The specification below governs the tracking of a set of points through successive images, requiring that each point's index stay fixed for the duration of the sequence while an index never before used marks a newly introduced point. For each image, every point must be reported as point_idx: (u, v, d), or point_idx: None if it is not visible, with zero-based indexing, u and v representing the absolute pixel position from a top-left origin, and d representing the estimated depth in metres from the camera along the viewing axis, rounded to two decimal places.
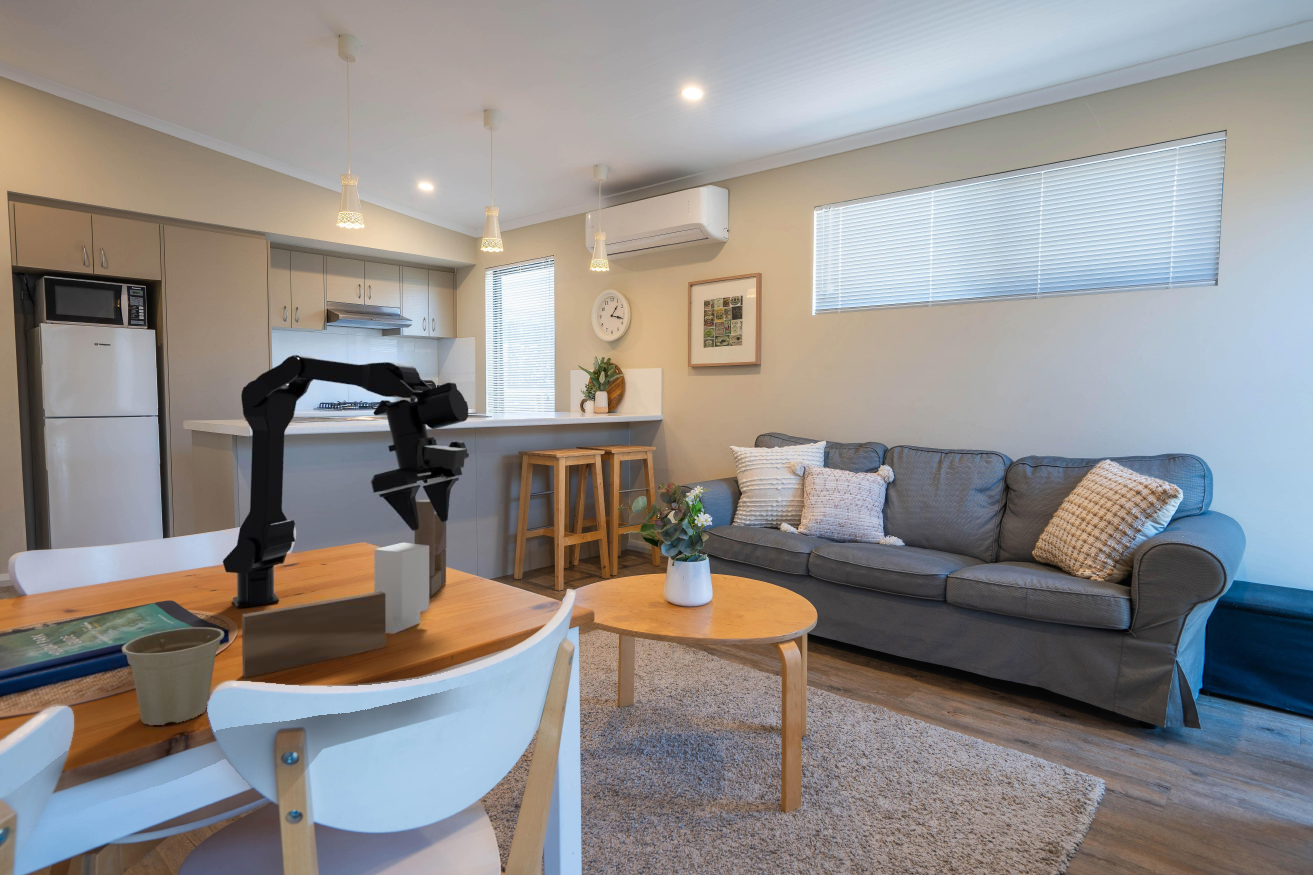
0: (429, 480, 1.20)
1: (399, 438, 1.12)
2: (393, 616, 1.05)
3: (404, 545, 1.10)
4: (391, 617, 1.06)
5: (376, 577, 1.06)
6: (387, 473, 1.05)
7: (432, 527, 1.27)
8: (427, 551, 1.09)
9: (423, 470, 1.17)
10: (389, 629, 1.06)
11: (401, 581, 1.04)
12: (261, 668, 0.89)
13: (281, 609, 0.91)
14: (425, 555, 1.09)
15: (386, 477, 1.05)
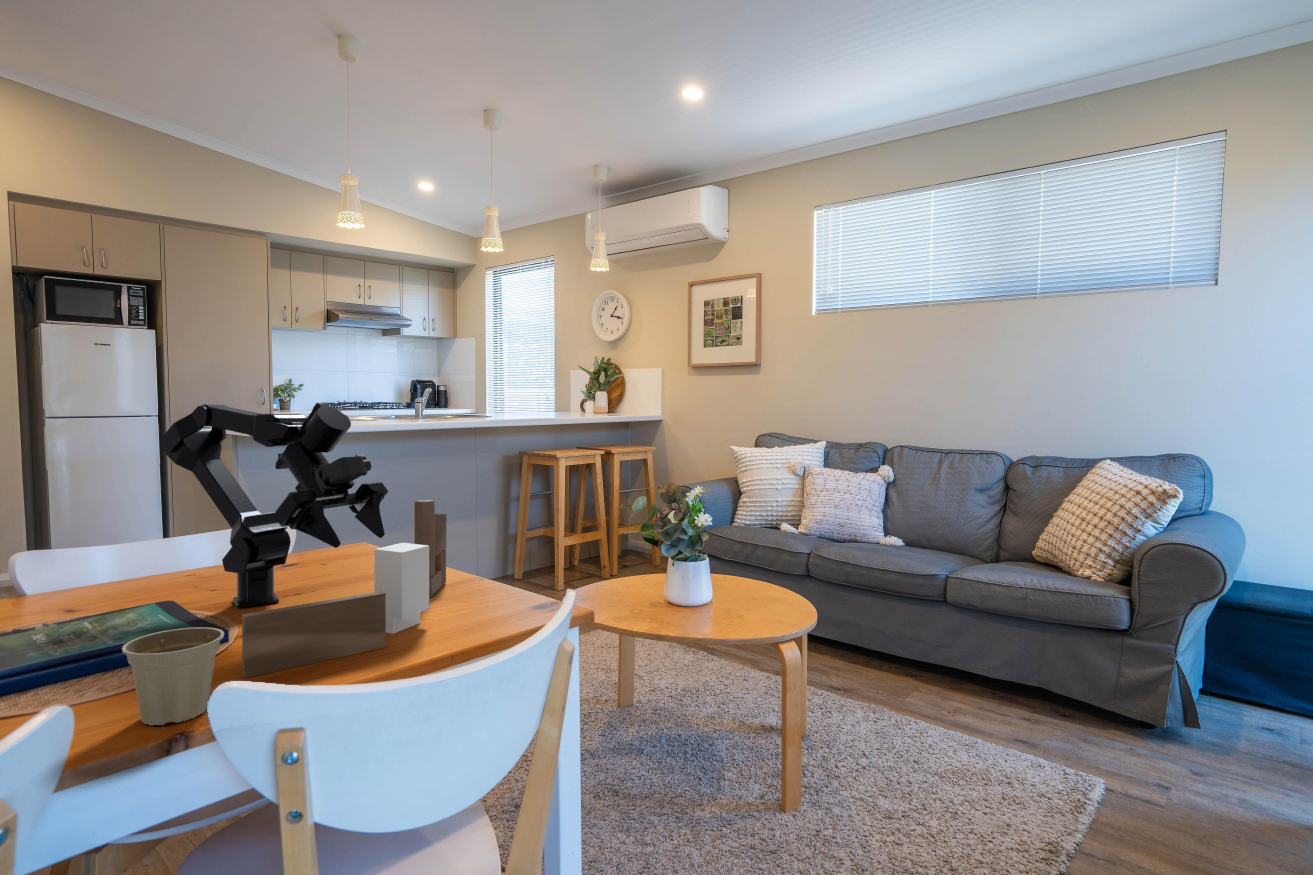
0: (358, 508, 1.19)
1: (298, 474, 1.13)
2: (393, 616, 1.05)
3: (404, 545, 1.10)
4: (391, 617, 1.06)
5: (376, 577, 1.06)
6: (283, 501, 1.05)
7: (432, 527, 1.27)
8: (427, 551, 1.10)
9: (341, 497, 1.16)
10: (389, 629, 1.06)
11: (401, 581, 1.04)
12: (261, 668, 0.89)
13: (281, 609, 0.91)
14: (425, 555, 1.09)
15: (282, 505, 1.05)
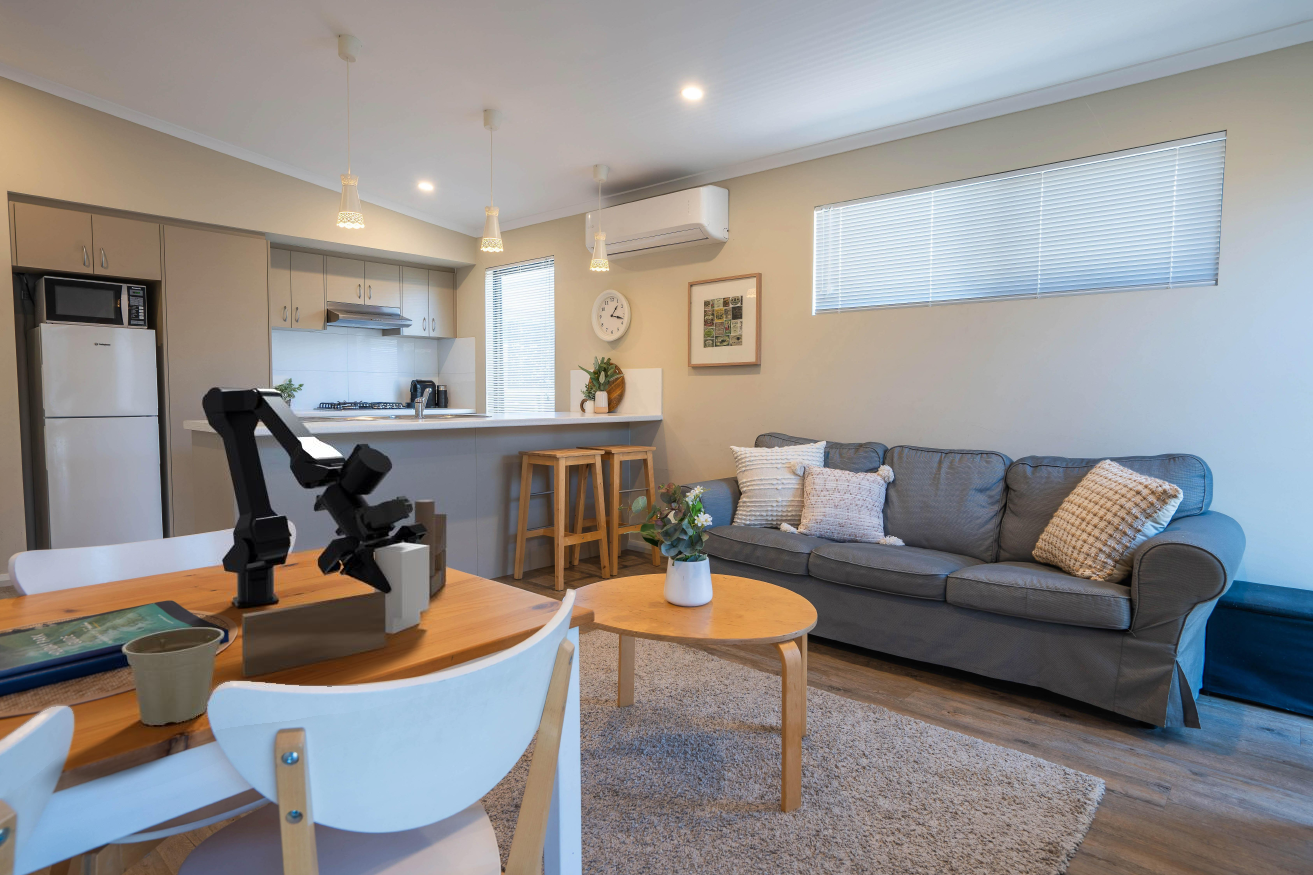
0: None
1: (338, 518, 1.09)
2: (393, 616, 1.05)
3: (404, 545, 1.10)
4: (391, 617, 1.06)
5: None
6: (325, 549, 1.02)
7: (432, 527, 1.27)
8: (427, 551, 1.10)
9: None
10: (389, 629, 1.06)
11: (402, 580, 1.04)
12: (261, 668, 0.89)
13: (281, 609, 0.91)
14: (425, 554, 1.09)
15: (325, 553, 1.02)
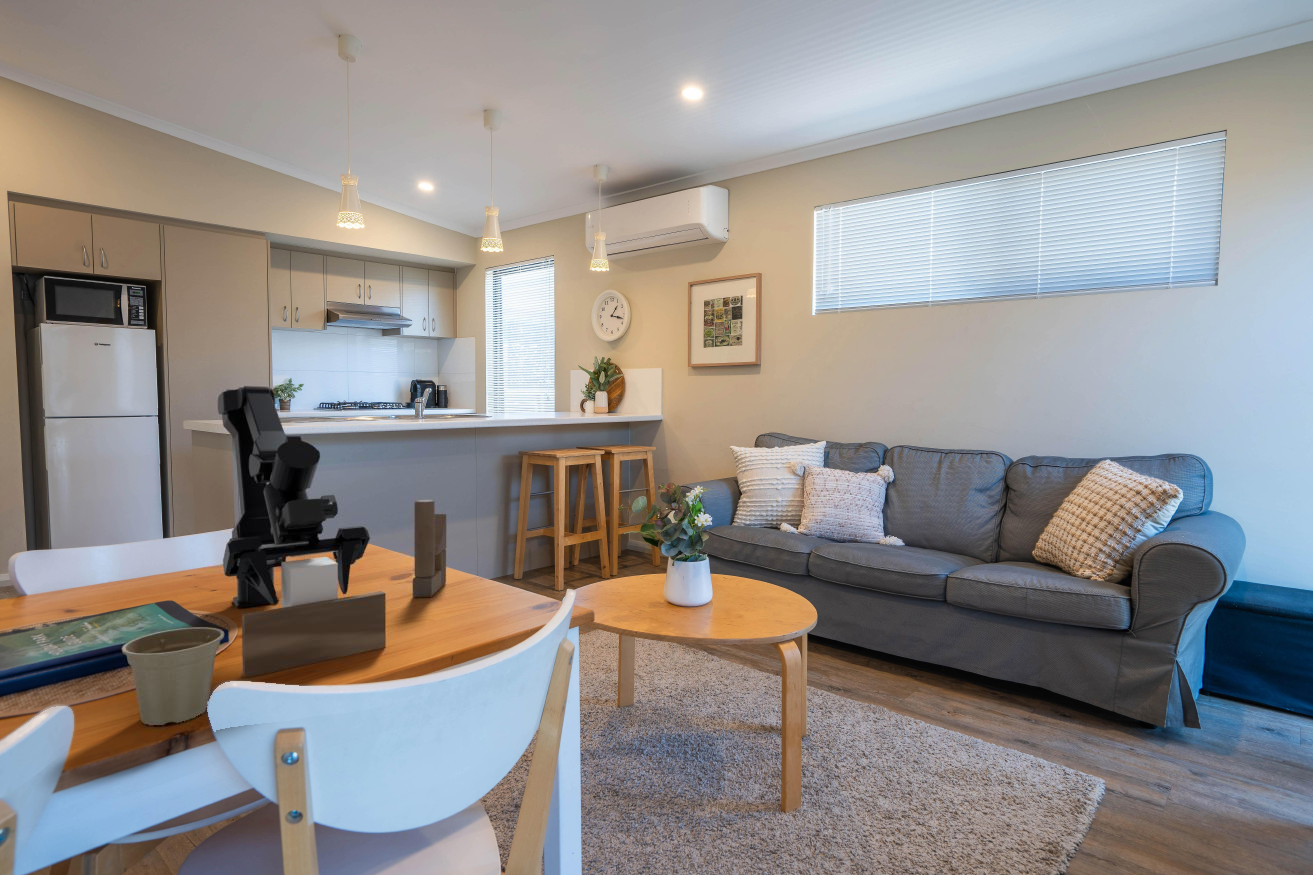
0: (337, 555, 1.04)
1: (269, 515, 1.02)
2: None
3: (317, 560, 0.98)
4: None
5: (282, 593, 0.97)
6: None
7: (432, 527, 1.27)
8: (334, 570, 0.96)
9: (313, 543, 1.02)
10: None
11: (291, 601, 0.93)
12: (261, 668, 0.89)
13: (281, 609, 0.91)
14: (331, 574, 0.96)
15: (225, 552, 0.94)
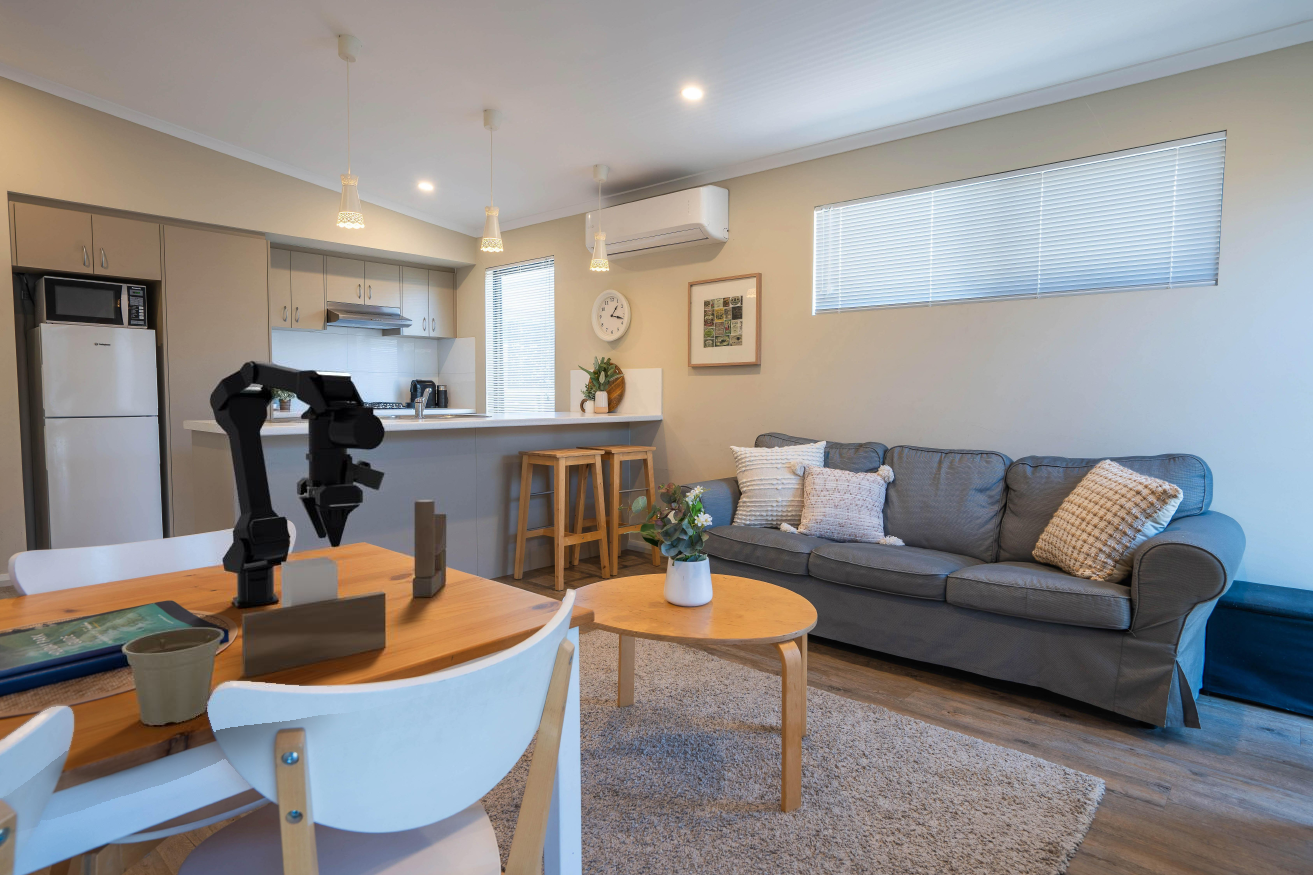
0: (310, 493, 1.14)
1: (330, 450, 1.08)
2: None
3: (317, 560, 0.98)
4: None
5: (282, 593, 0.97)
6: (344, 488, 1.04)
7: (432, 527, 1.27)
8: (334, 569, 0.96)
9: None
10: None
11: (291, 601, 0.93)
12: (261, 668, 0.89)
13: (281, 609, 0.91)
14: (331, 573, 0.96)
15: (343, 491, 1.04)
